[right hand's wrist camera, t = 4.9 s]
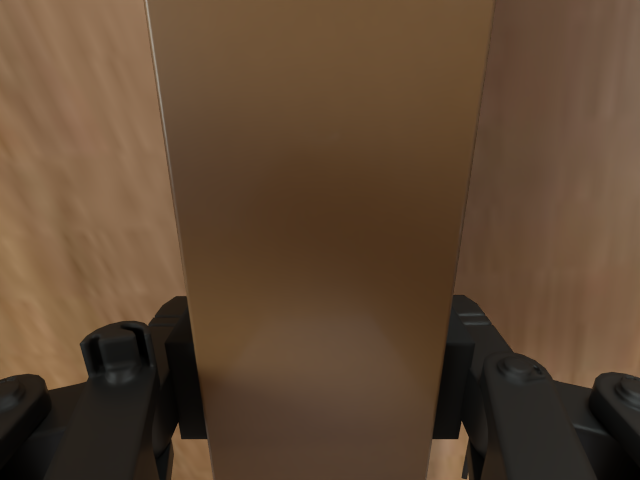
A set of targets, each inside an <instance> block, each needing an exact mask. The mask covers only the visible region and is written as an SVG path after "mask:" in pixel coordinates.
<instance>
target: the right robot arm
mask: <svg viewBox="0 0 640 480" xmlns="http://www.w3.org/2000/svg"><path fill="white" fill-rule="evenodd" d="M80 347H81V350H82V354H83V357H84V361H85V365H86V368H87V372H88V375H89V378H88V380H87V382H84V383H80V384H76V385H71V386H67V387H62V388H57V389H53V390H48V389H47V386H46V383H45V380H44V379H43V378H41V377H40V376H39V375H33V374H23V375H16V376H11V377H7V378H4V379H1V380H0V480H171V475H172V466H173V457H174V452H173V445H172V440H171V438H172V435H173V433H174V431H175V428H176V426H177V424H178V422H179V428H180V433H181V439H207V432H206V425H205V418H204V411H203V404H202V397H201V391H200V384H199V377H198V370H197V363H196V356H195V349H194V343H193V336H192V329H191V322H190V315H189V308H188V302H187V296H176V297H174V298H173V299H171V300H170V301H168V302H167V303H165V304H164V305H162V307H161V308H160V310H159V311H158V312H157V314H156V315H155V318H153V319H152V320H151V322H150V323H149V324H148V326H147V325H146V324H145V323H142V322H138V321H122V322H117V323H113V324H109V325H106V326H104V327H102V328H99V329H97V330H95V331H94V332H92V333H91V334H89V335H87V336H86V337H85V338H84V340H83V341H82V342H81V343H80ZM461 421H462V422H463V425H464V427H465V429H466V432H467V434H468V436H469V440H468V445H467V450H466V456H465V461H464V466H463V472H462V478H463V479H467V476H468V474H469V480H640V378H638V377H634V376H632V375H628V374H623V373H615V372H609V373H602V374H600V375H599V376H598V377H597V378H596V379H595V382H594V385H593V388H592V389H590V388H586V387H581V386H576V385H572V384H567V383H562V382H559V381H555V380H553V379H552V377H551V375H550V374H549V373H548V371H547V370H546V369H545V368H544V367H543V366H542V365H540V364H539V363H538V362H536V361H535V360H533V359H531V358H529V357H526V356H524V355H521V354H517V353H514V352H513V351H512V350H511V348H510V347H509V346H508V344H507V343H506V342H505V340H504V339H503V338H502V336H501V335H500V334H499V332H498V331H497V330H496V328H495V327H494V326H493V325H492V324H491V322H490V320H489V319H488V318H487V316H485V314H484V312H483V311H482V310H481V308H480V307H479V306H478V304H477V303H475V302H474V301H472V300H470V299H469V298H467V297H466V296H464V295H453V299H452V306H451V313H450V320H449V327H448V334H447V340H446V347H445V354H444V361H443V368H442V375H441V382H440V389H439V395H438V402H437V409H436V416H435V423H434V430H433V437H432V439H458V438H459V432H460V426H461Z"/></svg>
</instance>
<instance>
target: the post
mask: <svg viewBox="0 0 640 480" xmlns="http://www.w3.org/2000/svg"><path fill="white" fill-rule="evenodd" d="M495 4H496V0H144V7H145V14H146V20H147V27H148V34H149V41H150V48H151V55H152V62H153V68H154V75H155V82H156V89H157V96H158V103H159V110H160V116H161V123H162V130H163V137H164V144H165V151H166V158H167V164H168V171H169V178H170V185H171V192H172V199H173V206H174V212H175V219H176V226H177V233H178V240H179V247H180V254H181V260H182V267H183V274H184V281H185V288H186V295H187V302H188V308H189V315H190V322H191V329H192V336H193V343H194V349H195V356H196V363H197V370H198V377H199V384H200V391H201V397H202V404H203V411H204V418H205V425H206V432H207V439H208V445H209V452H210V459H211V466H212V473H213V480H426V478H427V471H428V464H429V457H430V450H431V443H432V437H433V430H434V423H435V416H436V409H437V402H438V395H439V389H440V382H441V375H442V368H443V361H444V354H445V347H446V340H447V334H448V327H449V320H450V313H451V306H452V299H453V292H454V286H455V279H456V272H457V265H458V258H459V251H460V244H461V237H462V231H463V224H464V217H465V210H466V203H467V196H468V189H469V183H470V176H471V169H472V162H473V155H474V148H475V141H476V134H477V128H478V121H479V114H480V107H481V100H482V93H483V86H484V80H485V73H486V66H487V59H488V52H489V45H490V38H491V31H492V25H493V18H494V11H495Z"/></svg>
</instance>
